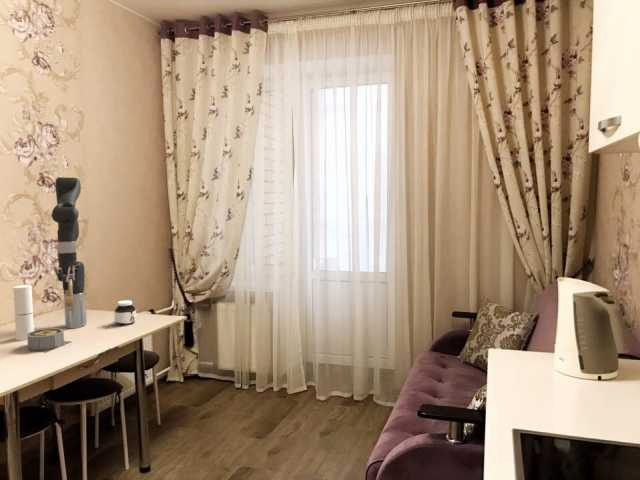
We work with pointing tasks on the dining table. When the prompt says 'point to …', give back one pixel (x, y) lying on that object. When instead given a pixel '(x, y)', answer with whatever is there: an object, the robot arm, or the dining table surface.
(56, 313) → the dining table surface
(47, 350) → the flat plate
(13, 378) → the dining table surface
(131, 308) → the spread jar
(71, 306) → the wick
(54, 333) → the grey octagonal bowl
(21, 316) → the cylindrical container
